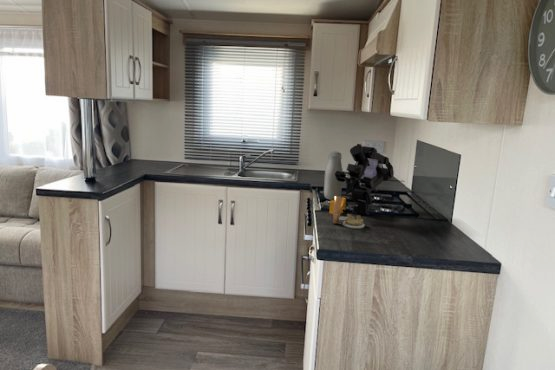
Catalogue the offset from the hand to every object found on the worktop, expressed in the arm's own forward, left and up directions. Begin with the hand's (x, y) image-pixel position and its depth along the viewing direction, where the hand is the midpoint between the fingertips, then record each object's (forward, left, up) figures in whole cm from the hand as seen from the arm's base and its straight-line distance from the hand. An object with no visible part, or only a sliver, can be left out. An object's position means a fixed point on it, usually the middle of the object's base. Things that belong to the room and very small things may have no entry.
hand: (346, 193), depth 188 cm
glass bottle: (-20, -35, -13) cm, 42 cm away
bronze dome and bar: (+5, +8, -12) cm, 15 cm away
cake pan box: (-95, -82, -13) cm, 126 cm away
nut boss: (+3, +10, -13) cm, 16 cm away
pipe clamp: (-6, -12, -13) cm, 19 cm away
